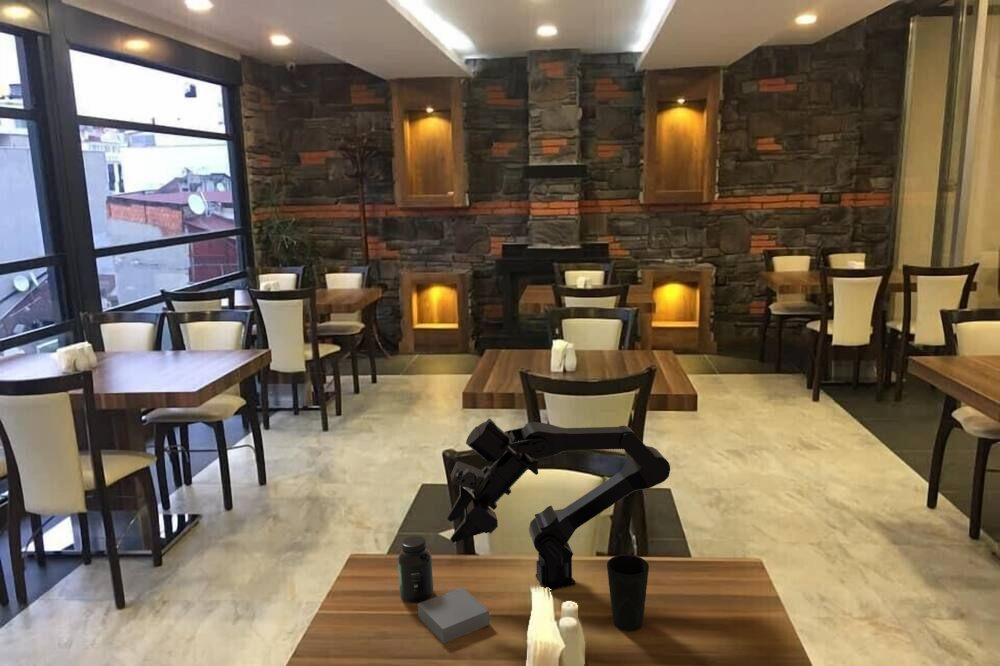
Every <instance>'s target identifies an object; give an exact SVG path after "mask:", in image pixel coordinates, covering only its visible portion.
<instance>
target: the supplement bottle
mask: <svg viewBox="0 0 1000 666" xmlns="http://www.w3.org/2000/svg"><path fill="white" fill-rule="evenodd" d="M426 540H427V539H426V538H425V537H423V535H422V536H421V535H410V536H407V537H405V538H403V539H402V540H401V552H400V553H399V554H398V558H397V568H398V581H399V582H398V583H399V596H400V598H401V599H402V600H403V601H404V602H407V603H410V604H419V603H422V602H425V601H427V600H430V599H431V597H432V596H433V595H434V576H433V575H434V574H433V559H432V553H431V551H430V550H428V549H427V543H426V542H427V541H426Z"/></svg>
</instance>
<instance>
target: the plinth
mask: <svg viewBox="0 0 1000 666" xmlns="http://www.w3.org/2000/svg"><path fill="white" fill-rule="evenodd" d="M417 617H418V619H419V620H420V621H421V623H423V624H424V625H425V627H426V628H427V629H428V630H430V632H431V633H432V634H434V636H435V637H436V638H437V639H438V640H439V641H440V642H441V643H442V644H443V645H444V644H446V642H447V643H449V642H452V641H454V640H456V639H458V638H461V637H464V636H466V635H468V634H471V633H473V632H475V630H476V631H478V630H480V629H483V628H485V627H488V626H490V624H491V623H490V610H489V609H488V608H487V607H485V605H484V604H483V603H481V602H480V601H479V600H478V599H477V598H475V597H474V596H473V595H472V594H471V593H470V592H469V591H468V590H466V589H465V588H464V587H459V588H457V589H454V590H451V591H449V592H446V593H443V594H441V595H439V596H436V597H435V596H434V597H433V598H429V599H428V600H426V601H424V602H421V603H417Z"/></svg>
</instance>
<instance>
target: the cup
mask: <svg viewBox="0 0 1000 666" xmlns="http://www.w3.org/2000/svg"><path fill="white" fill-rule="evenodd" d="M606 567H607V576H608V579H607V580H608V588H609V596H610V597H609V599H610V607H611V608H610V609H611V615H612V616H611V618H612V623H613V626H614V627H615V628H616V629H618V630H620V631H622V632H636V631H639V630H640V629H641V628H642V627H643V624H644V616H645V615H644V614H645V607H646V605H645V604H646V597H647V588H648V587H647V586H648V579H649V570H650V566H649V562H647V561H646V559H644V558H643V557H641V556H637V555H633V554H619V555H615V556H613V557H611V558H609V559H608V561H607V562H606Z"/></svg>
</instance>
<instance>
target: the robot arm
mask: <svg viewBox="0 0 1000 666" xmlns="http://www.w3.org/2000/svg"><path fill="white" fill-rule="evenodd" d="M465 445H467V446H468V447H469V448H471V450H473V451H474V452H475V453H476V454H478V455H479V456H480V457H481V458H482V459H484V460H485V461H486V462H489V463H490V462H492V463H493V464H492V465H491V466H489V465H485V466H484V467H483V468H482V469H479V468H477V467H475V466H473V465H471V464H468V463H466V462H465V463H464V462H463V461H456V462H455V464H454V466H453V469H452V471H451V473H450V477H451V478H450V479H451V480H450V481H451V483H452V484H453V485H456V486H459V495H458V497H457V499H456V501H455V503H454V504H453V507H452V508H451V510H450V512H449V514H448V515H447V521H448V522H453V521H455V520H457V519H459V518H460V517H462V516H464V518H463V520H462V521H461V522H460V524H459V525H458V527H457V528H456V529H455V531H454V532H453V533H452V535H451V536H450V539H449V540H450V542H452V543H457V542H460V541H464V540H466V539H469V538H471V537H474V536H477V535H481V534H493V532H495V530H496V529H497V528H498V523H499V522H498V520H499V519H498V517H497V514H496V511H495V510H496V509H497V508H498V504H497V502H499V500H500V499H501V498H502V497H503V496H504V495H507V496H509V495H510V494H511V493H512V489H511V488H512V486H514V484H516V483H517V482H518V480H519V479H520V478H521V477H522V476H523V475H524V474H525V473H527V471H528V470H529V471H530V472H532V474H534V475H536V476H537V475H539V468H538V465H539V460H540V459H544V458H545V459H546V458H549V457H550V458H551V457H554V456H557V455H559V454H562V453H563V452H568V451H595V450H596V451H597V450H598V451H600V450H601V451H603V450H624V451H625V452H626V453H627V454H628V455H629V458H628V459H627V461H626V462H625V464H623V467H622V469H620V471H618V472H617V473H616V474H615V475H612V476H611V477H610V478H608V479H606V480H605V481H604V482H602V483H600V484H599V485H598V486H596V487H594V488H593V489H591V490H590V491H588V492H587V493H585V494H584V495H582V496H581V497H580V498H577V500H575V501H573V502H571V503H570V504H569V505H567V506H565V507H564V508H561V509H554V508H553V506H552V505H549V506H547V507H545V509H543V510H542V511H541V512H539V513H535V514H534V518H533V519H532V520H531V521H530V523H529V528H528V533H529V536H530V537H531V540H532V543H533V546H534V548H535V550H536V552H537V553H538V555H537V556H538V560H536V563H535V564H536V574H535V577H536V579H537V581H538V582H539V583H540V585H542V586H543V587H544V586H545V587H549V588H550V589H552V590H551V591H554V590H558V589H562V588H565V587H566V588H567V587H570V586H573V585H574V586H575V585H576V580H575V579H574V578H573V560H572V559H573V555H574V552H573V550H572V548H571V546H570V544H569V542H570V541H569V540H570V539H571V537H572V536H573V535H574V533H575V531H576V530H578V528H580V527H582V526H583V525H584V524H586V523H588V522H589V521H591V520H592V519H594V518H595V517H598V515H600V514H602V513H603V512H605V510H607V509H609V508H610V507H612V506H613V505H615V504H617V503H618V502H619V501H621V500H622V499H624V498H625V497H627V496H628V495H630V494H631V493H633V492H635V491H640V490H641V491H642V490H647V489H652V488H653V487H655V486H657V485H660V484H662V483H664V482H665V481H666V480H667V479H668V478H669V477H670V472H671V465H670V463H669V461H668V459H666V458H665V457H664V456H663V454H661V452H660V451H659V450H658V449H657V448H655V447H653V446H648V445H646V444H645V443H644V442H643V441H642V440H641V439H640V438H639V437H638V436H637V434H636V433H635V432H634V431H633V430H632V428H631V427H629V426H627V425H619V426H603V427H602V426H601V427H599V426H595V427H593V426H592V427H562V426H558V425H554V424H551V423H544V422H538V421H537V422H536V421H531V422H528V423H526V424H525V425H524V426H523V427H518V428H514V429H510V430H505V431H503V430H502V429H501V428H500V427H499V426H498V425H497V424H496V422H495V421H494V420H493V419H492V418H488V419H487V420H486V421H484V422H482V423H480V424H478V426H477V425H476V426H475V427H474V428H473V429H472V430H471V432H470V433H469V435H468V436H467V438H466V440H465ZM545 587H544V588H545Z"/></svg>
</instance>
